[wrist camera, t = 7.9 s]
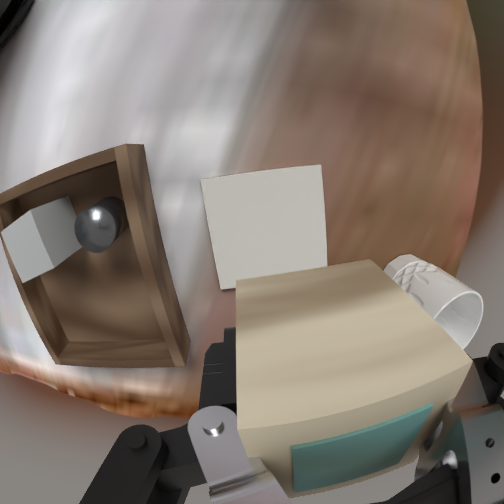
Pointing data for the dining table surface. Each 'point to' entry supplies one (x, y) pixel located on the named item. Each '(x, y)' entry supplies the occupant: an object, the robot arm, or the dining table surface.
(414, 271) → the white cup
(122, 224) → the gray ball
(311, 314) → the labelled block
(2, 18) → the amphora vase
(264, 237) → the stone coaster
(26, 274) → the plain block
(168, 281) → the parts tray
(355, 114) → the dining table surface
